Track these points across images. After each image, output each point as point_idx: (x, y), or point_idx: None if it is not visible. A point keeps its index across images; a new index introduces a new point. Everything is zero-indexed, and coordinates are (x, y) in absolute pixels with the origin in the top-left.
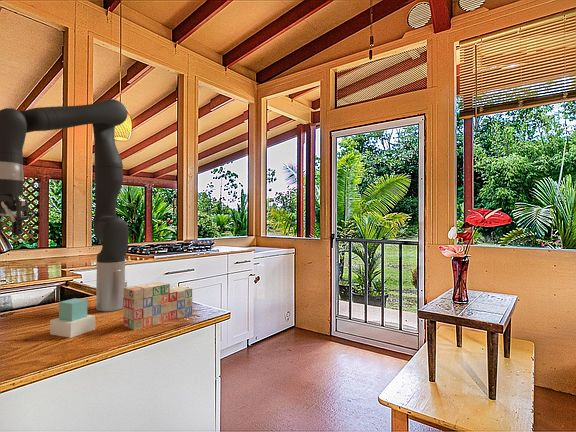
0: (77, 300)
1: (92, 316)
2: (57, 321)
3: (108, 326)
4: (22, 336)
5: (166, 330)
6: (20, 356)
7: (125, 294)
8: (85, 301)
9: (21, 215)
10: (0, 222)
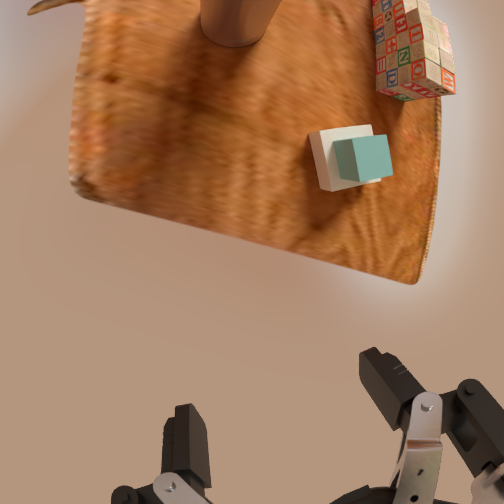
0: (376, 150)
1: (371, 130)
2: (350, 187)
3: (359, 104)
4: (290, 224)
5: None
6: (376, 257)
7: (421, 82)
8: (386, 140)
9: (440, 430)
10: (193, 467)
